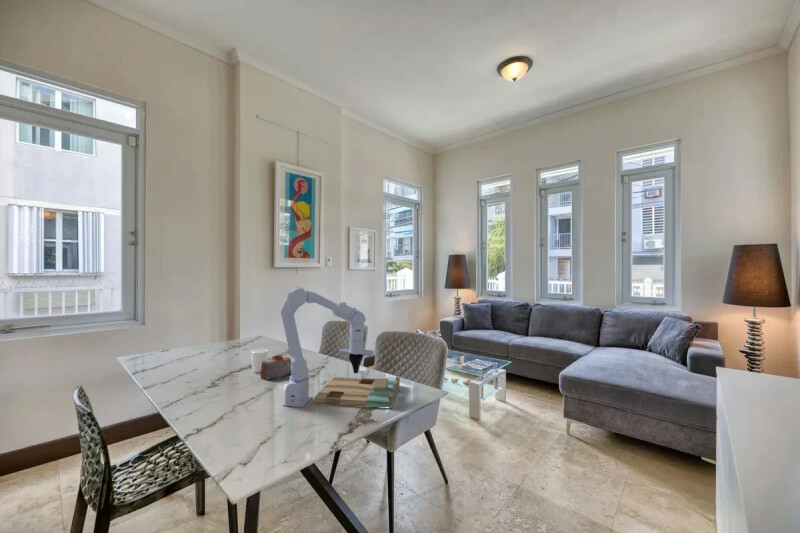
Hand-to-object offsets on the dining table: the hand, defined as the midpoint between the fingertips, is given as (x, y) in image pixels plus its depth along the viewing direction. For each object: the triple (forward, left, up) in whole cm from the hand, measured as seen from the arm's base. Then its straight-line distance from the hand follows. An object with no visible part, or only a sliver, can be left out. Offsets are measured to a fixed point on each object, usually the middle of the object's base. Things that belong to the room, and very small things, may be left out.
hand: (356, 372), depth 135 cm
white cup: (+22, +55, -9) cm, 60 cm away
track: (0, -2, -9) cm, 9 cm away
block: (0, -11, -6) cm, 12 cm away
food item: (+16, +43, -9) cm, 46 cm away
